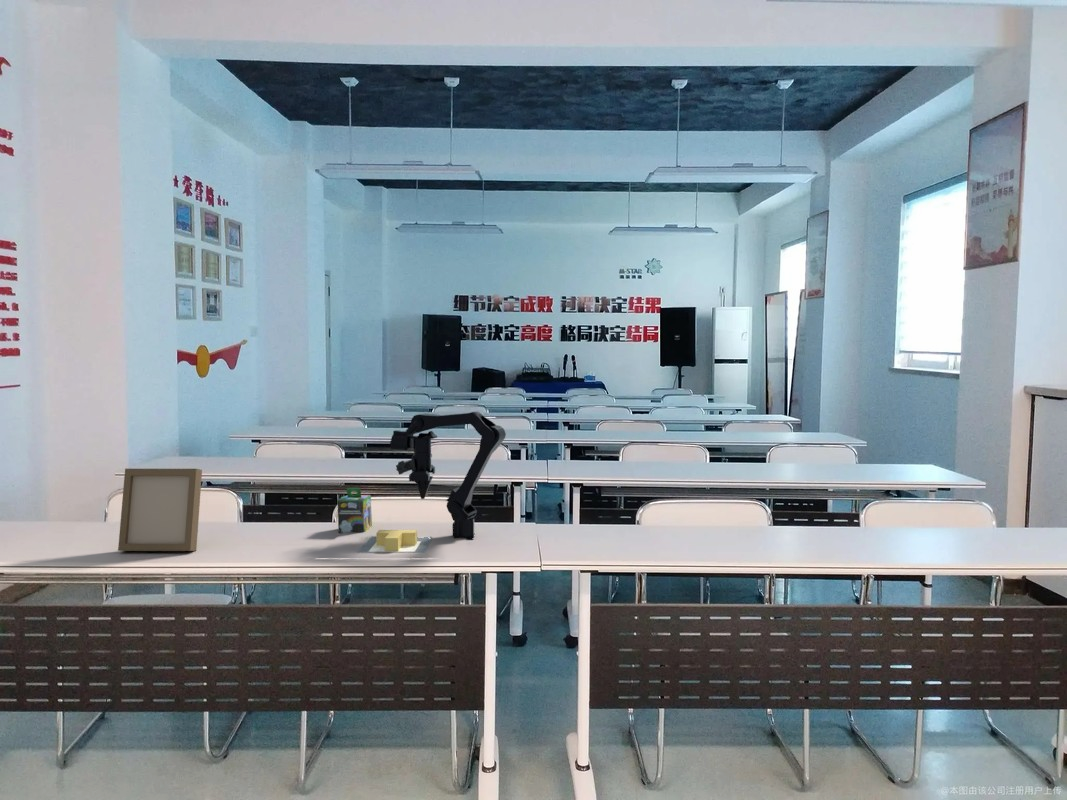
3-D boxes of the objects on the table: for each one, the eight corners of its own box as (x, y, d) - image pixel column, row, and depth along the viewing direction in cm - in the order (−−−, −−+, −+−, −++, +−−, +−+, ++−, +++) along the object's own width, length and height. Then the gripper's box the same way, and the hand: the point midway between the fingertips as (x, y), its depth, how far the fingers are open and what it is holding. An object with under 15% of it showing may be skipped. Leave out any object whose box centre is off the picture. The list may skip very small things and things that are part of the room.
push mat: (433, 537, 264) (433, 536, 264) (424, 554, 243) (424, 552, 243) (372, 537, 265) (372, 536, 265) (357, 553, 244) (357, 552, 244)
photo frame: (190, 554, 244) (188, 471, 242) (118, 554, 244) (115, 471, 242) (210, 542, 258) (208, 464, 257) (142, 542, 259) (139, 464, 257)
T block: (417, 542, 256) (417, 530, 256) (411, 551, 245) (411, 538, 245) (379, 542, 256) (379, 530, 256) (371, 551, 245) (371, 538, 245)
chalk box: (372, 528, 280) (371, 485, 279) (364, 533, 271) (363, 489, 270) (346, 527, 281) (345, 484, 280) (337, 533, 271) (336, 489, 271)
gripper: (402, 448, 277) (403, 493, 278) (392, 455, 258) (393, 504, 259) (435, 448, 277) (435, 493, 278) (427, 455, 258) (428, 504, 259)
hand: (422, 498), depth 269 cm, fingers closed
